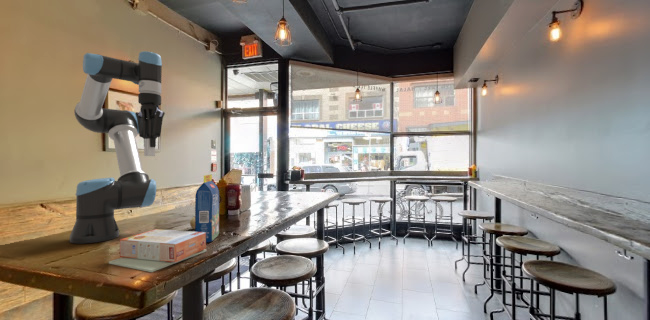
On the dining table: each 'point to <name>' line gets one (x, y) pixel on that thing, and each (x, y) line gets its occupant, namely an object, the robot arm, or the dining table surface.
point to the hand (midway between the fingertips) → (149, 155)
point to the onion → (192, 223)
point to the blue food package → (207, 209)
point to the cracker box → (163, 245)
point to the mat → (146, 263)
